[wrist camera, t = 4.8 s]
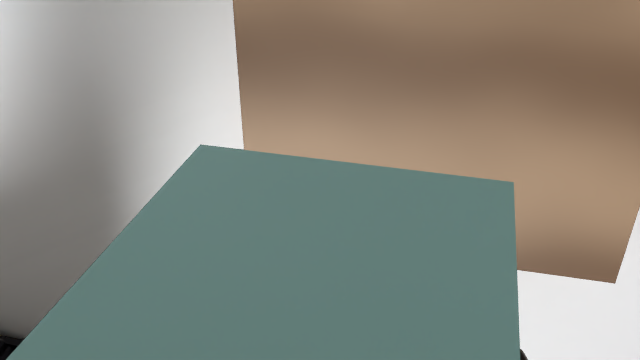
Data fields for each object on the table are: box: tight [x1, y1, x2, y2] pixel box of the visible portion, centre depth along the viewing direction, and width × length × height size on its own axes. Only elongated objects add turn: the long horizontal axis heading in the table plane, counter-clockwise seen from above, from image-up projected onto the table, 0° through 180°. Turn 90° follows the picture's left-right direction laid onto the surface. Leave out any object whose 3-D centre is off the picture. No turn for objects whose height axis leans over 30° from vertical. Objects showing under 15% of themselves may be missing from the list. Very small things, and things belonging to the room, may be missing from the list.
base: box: [233, 0, 640, 283], centre depth 18 cm, size 12×12×2 cm
